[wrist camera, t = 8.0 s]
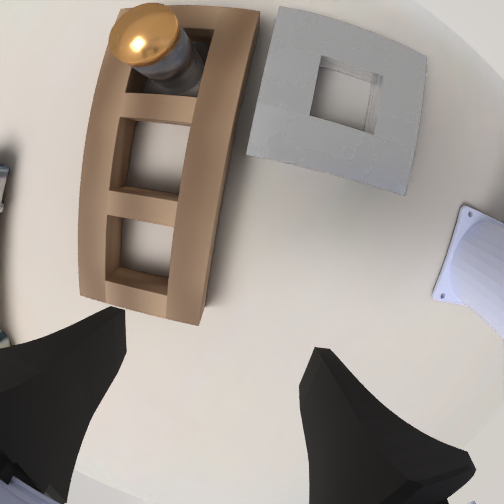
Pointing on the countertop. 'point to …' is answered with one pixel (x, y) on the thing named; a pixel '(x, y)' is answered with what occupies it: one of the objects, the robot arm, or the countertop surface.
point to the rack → (193, 175)
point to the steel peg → (156, 47)
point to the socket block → (330, 133)
